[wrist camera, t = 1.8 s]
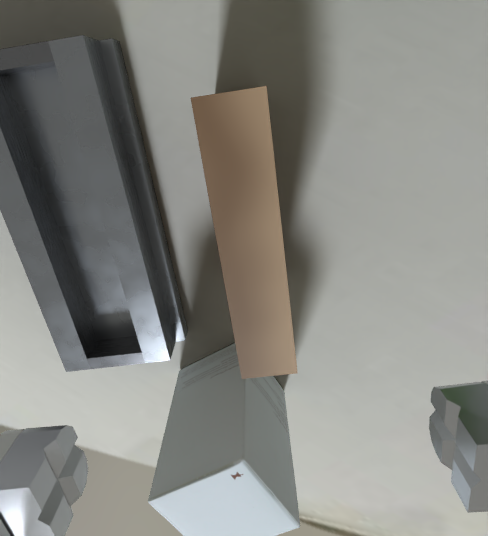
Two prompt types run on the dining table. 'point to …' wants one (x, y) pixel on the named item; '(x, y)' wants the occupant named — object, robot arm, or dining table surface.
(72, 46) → the tray
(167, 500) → the supplement box
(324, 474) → the dining table surface
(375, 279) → the dining table surface
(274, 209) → the door panel
